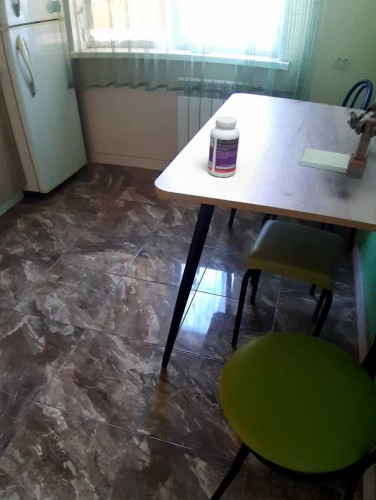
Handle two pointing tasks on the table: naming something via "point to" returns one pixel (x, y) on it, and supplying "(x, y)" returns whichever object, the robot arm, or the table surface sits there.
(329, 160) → the tile
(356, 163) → the brush
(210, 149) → the pill bottle
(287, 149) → the table surface
